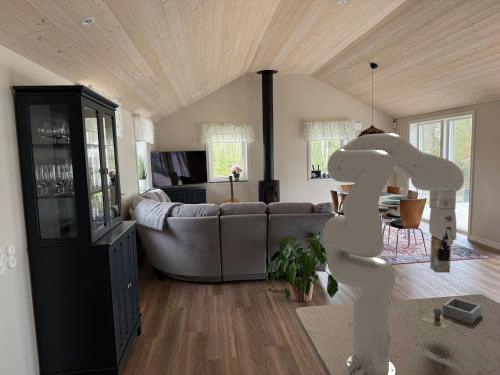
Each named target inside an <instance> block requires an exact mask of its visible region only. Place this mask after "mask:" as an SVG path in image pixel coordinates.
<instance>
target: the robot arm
mask: <svg viewBox="0 0 500 375" xmlns="http://www.w3.org/2000/svg"><path fill="white" fill-rule="evenodd" d="M326 167H327V168H326V169H327V173H328V175H329V176H330V178H331V179H332V180H334V181H336V182H340V183H350V184H351V183H352V184H353V185H352V186H351V188H350V189H349V190H348V192H347V194H346V195H345V197H344V200H343V202H342V210H343V215H335V216H332V217H331V218H329V219H328V221H327V222H326V224H324V229H323V234H322V238H323V240H322V241H323V246H324V250H325V255H326V260H327V265H328V269H329V272H330V275H331V276H332V278H333V280H335V282H337V283H338V284H339V283H340V284H342V285H345V286H348V287H350V288H353V289H355V290H357V291H359V292H360V295H359V296H358V298H357V299H356V300H355V301H354V303H353V306H352V355H351V356H349V357H348V359H346V360H347V361H346V366H345V367H344V368H343V374H344V375H396V368H395V366H394V364H393V363H392V362H391V361H390V348H391V311H392V309H391V307H392V299H393V298H392V297H393V292H394V288H395V284H396V277H397V276H396V270H395V268H394V266H393V265H392V264H391V263H390V262H388V261H386V260H385V259H382V258H379V256H380V255H381V254H382V253H383V252H382V251H383V250H384V233H383V228H382V222H381V221H382V220H381V216H380V207H379V203H380V199H381V195H382V193H383V191H384V188H385V187H386V185H387V183H388V181H389V180H390V178H391V177H392V174H393V172H395V174H398V175H399V176H401V177H403V178H407V179H410V181H411V185H412V186H413V187H414V188H416V189H417V190H421V191H429V205H428V206H429V209H430V213H429V223H428V229H429V230H428V231H429V232H428V233H429V234H430V235H431V236H435V237H436V238H438V239H439V240H440V248H439V253H438V260H439V261H449V254H450V246H451V247H452V245H453V244H454V241H455V240H457V217H456V214H457V213H456V211H455V210H456V204H457V203H456V202H457V201H456V200H457V192H459V191H460V190H461V189H462V188H463V186H464V182H465V177H464V173H463V171H462V170H461V168H460V167H459V166H458V165H457V164H455V163H454V162H453V161H452V160H448V159H447V158H444V157H441V156H436V155H434V154H431V153H427V152H425V151H422V150H419V148H417V147H415V145H413V144H412V143H411V142H409V141H408V140H407V139H406V138H404V137H403V136H401V135H399V134H396V133H374V134H373V133H372V134H364V135H360V136H359V137H356V138H355V139H353V140H351V141H349V142H348V143H346V144H344V145H342V146H341V147H339V148H338V149H336V150H334V152H332V153H331V155H330V156H329V158H328V161H327V164H326ZM444 238H446V239H444ZM443 241H446V242H444V244H443ZM450 255H451V254H450Z"/></svg>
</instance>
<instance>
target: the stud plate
mask: <svg viewBox="0 0 500 375" xmlns="http://www.w3.org/2000/svg"><path fill="white" fill-rule="evenodd" d="M442 314H443V311H442V310H441V308H439V307H435V308H434V309H433V312H431V311H429V313H427V314H425V315H424V316H423V317H422V318H421V317H420V319H419V320H420V321H423V322H426V323H429V324H432V325H434V326H437V327H440V328H443V329H446V328H447V327H449V326H450V325H451V324H452V323H453V322H455V320H456V319H453V318H449V317H446V316H444V315H443V316H442Z"/></svg>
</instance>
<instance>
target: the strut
mask: <svg viewBox="0 0 500 375" xmlns="http://www.w3.org/2000/svg"><path fill="white" fill-rule="evenodd" d="M430 237H431V239H430V240H431V242H430V262H429V263H430V264H429V268H430V269H431V270H432V271H434V273H443V274H444V273H448V274H449V273H451V250H452V248H451V247H452V245H451V246H450V254H449V261H439V260H438V253H439V248H440V240H439V239H438V238H436V237H435V236H432V235H431V236H430ZM444 239H446V238H444ZM444 242H446V241H443V244H444Z"/></svg>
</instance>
